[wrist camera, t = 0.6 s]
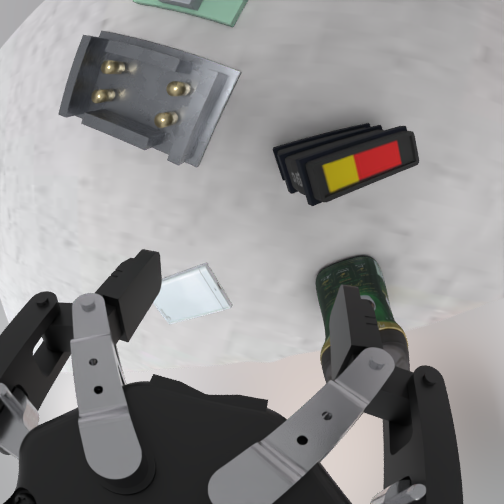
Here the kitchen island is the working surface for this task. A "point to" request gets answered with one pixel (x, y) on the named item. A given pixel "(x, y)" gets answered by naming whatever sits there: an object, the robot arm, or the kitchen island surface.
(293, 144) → the magazine
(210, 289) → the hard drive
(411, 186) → the kitchen island surface
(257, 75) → the kitchen island surface
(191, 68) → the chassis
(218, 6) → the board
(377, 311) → the coffee jar
